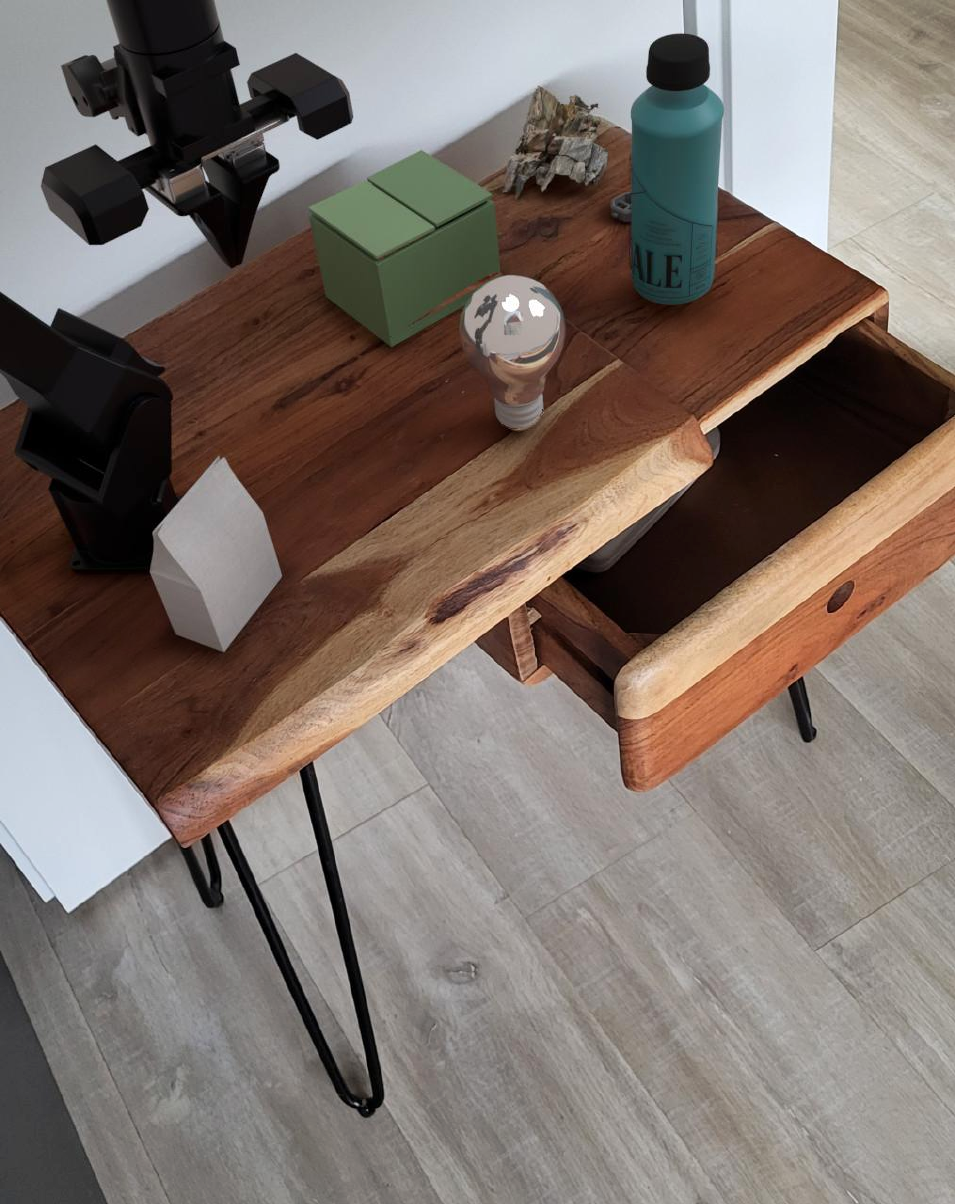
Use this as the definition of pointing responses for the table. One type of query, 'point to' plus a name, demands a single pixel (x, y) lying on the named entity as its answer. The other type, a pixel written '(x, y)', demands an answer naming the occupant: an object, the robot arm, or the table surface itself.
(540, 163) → the rock
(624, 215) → the key
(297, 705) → the table surface
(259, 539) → the white milk carton
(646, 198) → the beverage bottle
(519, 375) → the light bulb
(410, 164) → the carton
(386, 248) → the flap
